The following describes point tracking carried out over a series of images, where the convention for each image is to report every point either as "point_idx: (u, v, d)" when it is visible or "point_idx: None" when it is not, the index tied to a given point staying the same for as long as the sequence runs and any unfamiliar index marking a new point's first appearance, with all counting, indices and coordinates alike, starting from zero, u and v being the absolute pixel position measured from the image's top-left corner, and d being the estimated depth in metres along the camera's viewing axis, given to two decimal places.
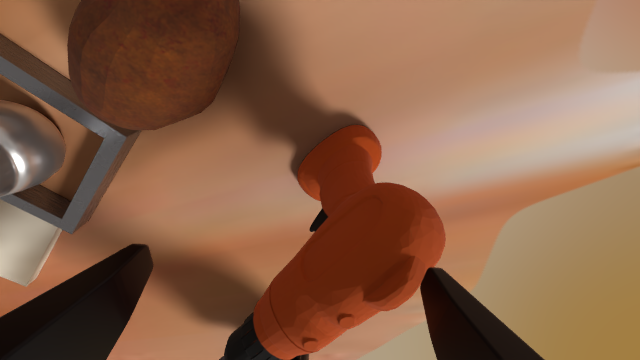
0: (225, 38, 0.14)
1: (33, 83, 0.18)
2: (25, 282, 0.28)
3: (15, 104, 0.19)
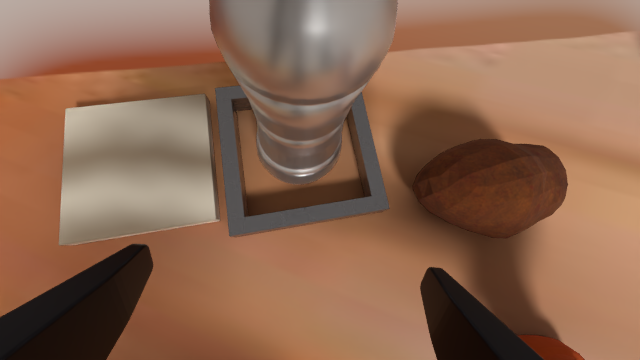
0: None
1: (367, 137, 0.22)
2: (69, 239, 0.19)
3: None
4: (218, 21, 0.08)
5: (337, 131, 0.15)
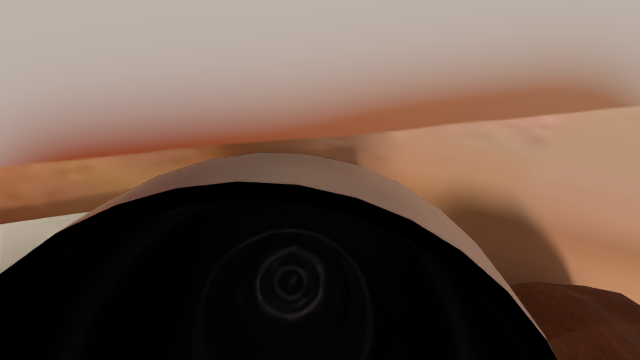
0: None
1: None
2: None
3: None
4: None
5: (347, 355, 0.09)
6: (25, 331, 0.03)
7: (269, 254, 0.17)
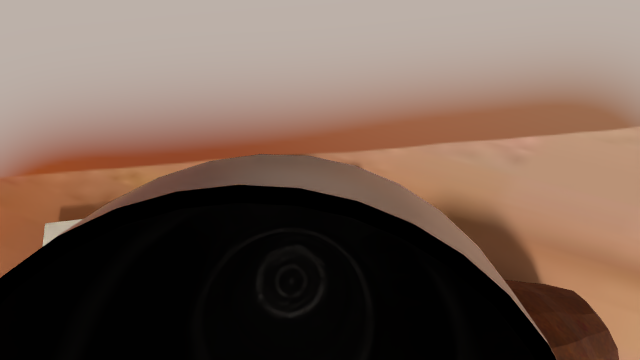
0: None
1: None
2: None
3: None
4: None
5: None
6: (26, 333, 0.03)
7: (269, 253, 0.17)
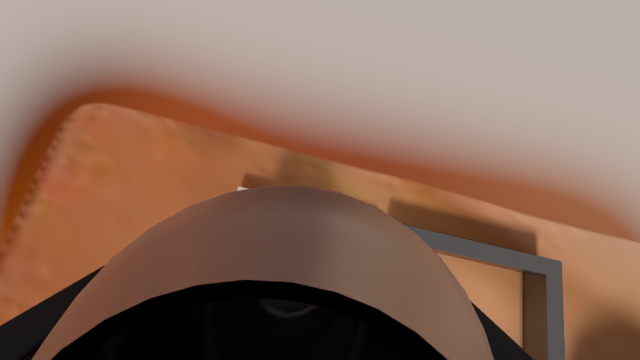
0: None
1: (559, 354, 0.18)
2: None
3: None
4: None
5: None
6: None
7: None
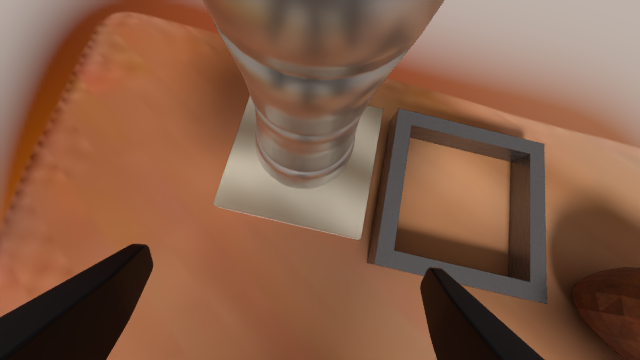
0: None
1: (540, 216, 0.20)
2: (223, 203, 0.19)
3: None
4: None
5: (355, 124, 0.12)
6: None
7: None
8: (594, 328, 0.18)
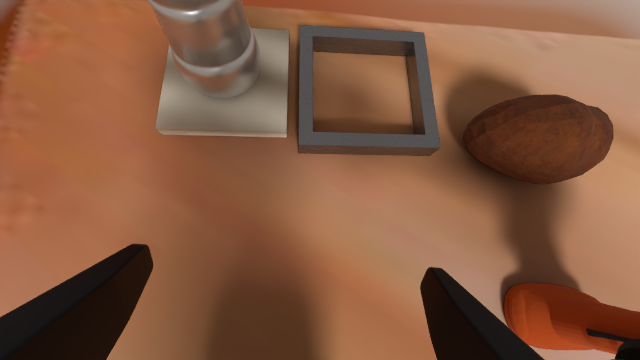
0: None
1: (427, 86, 0.25)
2: (164, 125, 0.22)
3: None
4: None
5: (231, 4, 0.16)
6: None
7: None
8: (478, 156, 0.23)
